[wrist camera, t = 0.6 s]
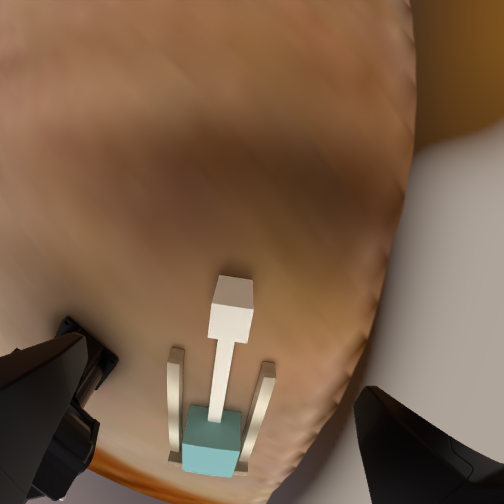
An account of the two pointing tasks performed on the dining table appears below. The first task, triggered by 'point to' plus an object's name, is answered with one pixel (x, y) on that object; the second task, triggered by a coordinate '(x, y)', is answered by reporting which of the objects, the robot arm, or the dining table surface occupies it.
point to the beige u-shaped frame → (253, 421)
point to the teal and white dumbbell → (220, 385)
